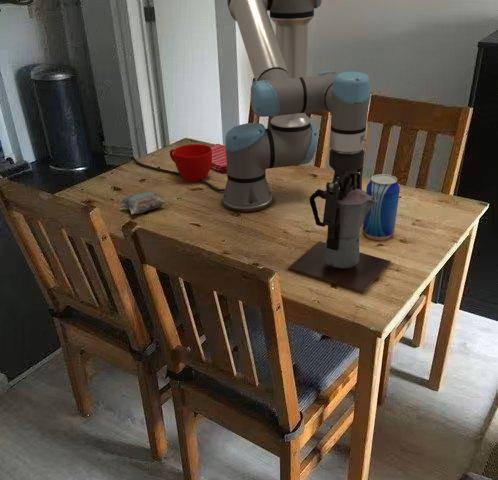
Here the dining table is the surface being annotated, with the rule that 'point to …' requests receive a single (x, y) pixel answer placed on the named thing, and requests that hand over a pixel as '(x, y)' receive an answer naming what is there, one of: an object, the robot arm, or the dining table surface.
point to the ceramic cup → (192, 161)
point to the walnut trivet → (340, 269)
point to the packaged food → (142, 202)
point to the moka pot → (346, 226)
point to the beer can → (382, 207)
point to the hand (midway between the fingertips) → (340, 241)
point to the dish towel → (219, 158)
